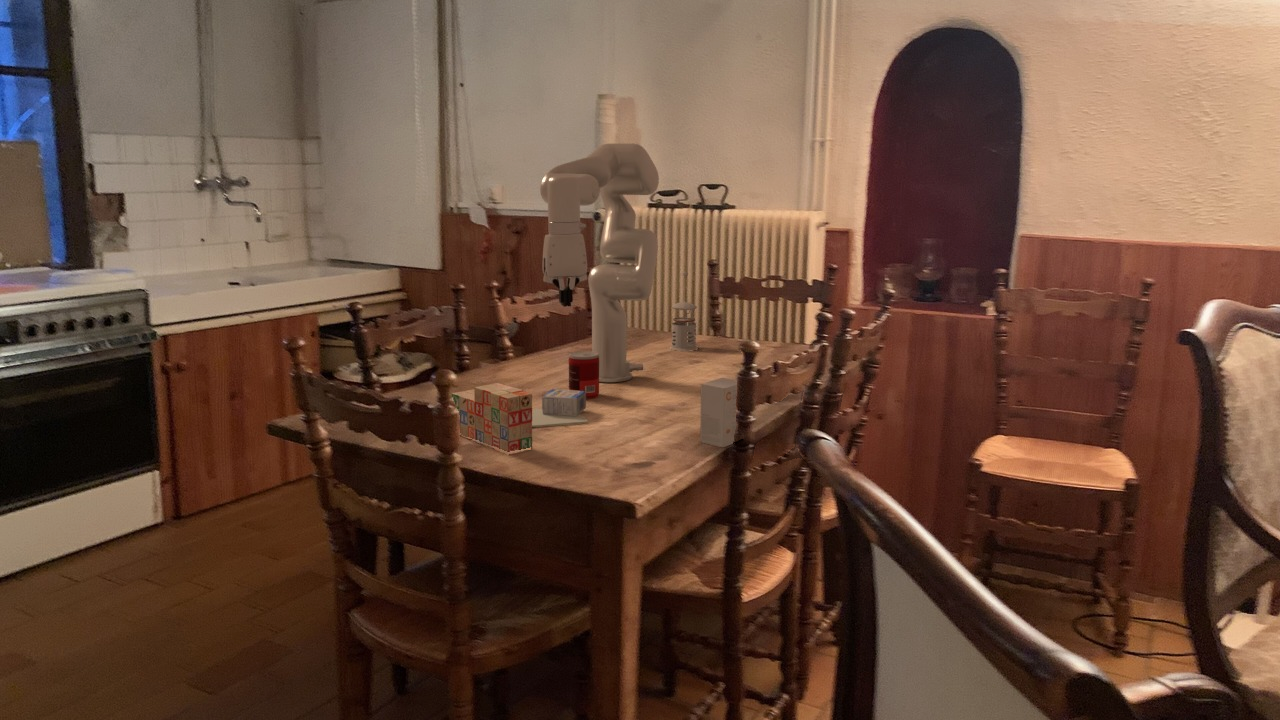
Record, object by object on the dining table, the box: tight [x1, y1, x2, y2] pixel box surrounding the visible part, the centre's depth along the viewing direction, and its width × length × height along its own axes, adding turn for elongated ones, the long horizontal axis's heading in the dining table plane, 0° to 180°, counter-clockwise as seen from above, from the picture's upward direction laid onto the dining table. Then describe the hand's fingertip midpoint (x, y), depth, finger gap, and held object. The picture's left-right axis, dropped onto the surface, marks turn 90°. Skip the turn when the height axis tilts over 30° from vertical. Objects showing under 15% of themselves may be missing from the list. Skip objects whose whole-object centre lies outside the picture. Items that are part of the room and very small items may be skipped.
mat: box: [532, 408, 589, 428], centre depth 220 cm, size 18×14×1 cm
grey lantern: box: [669, 271, 699, 352], centre depth 305 cm, size 10×12×25 cm
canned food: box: [568, 350, 600, 400], centre depth 242 cm, size 8×8×11 cm
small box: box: [699, 377, 738, 448], centre depth 202 cm, size 8×6×13 cm
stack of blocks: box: [451, 382, 533, 452], centre depth 201 cm, size 21×6×12 cm, turn 43°
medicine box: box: [541, 388, 587, 416], centre depth 225 cm, size 8×4×9 cm
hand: (566, 305), depth 228 cm, fingers closed
